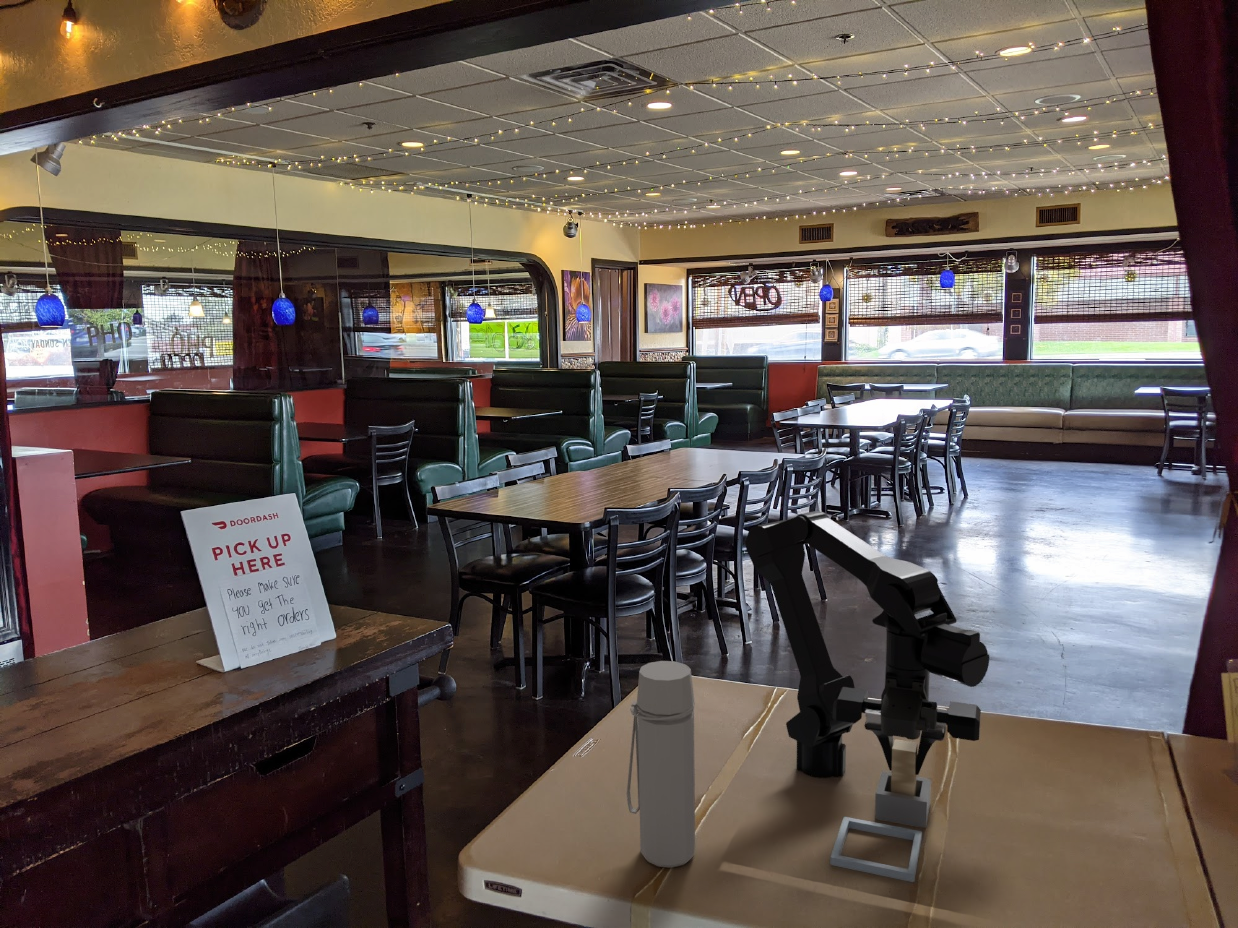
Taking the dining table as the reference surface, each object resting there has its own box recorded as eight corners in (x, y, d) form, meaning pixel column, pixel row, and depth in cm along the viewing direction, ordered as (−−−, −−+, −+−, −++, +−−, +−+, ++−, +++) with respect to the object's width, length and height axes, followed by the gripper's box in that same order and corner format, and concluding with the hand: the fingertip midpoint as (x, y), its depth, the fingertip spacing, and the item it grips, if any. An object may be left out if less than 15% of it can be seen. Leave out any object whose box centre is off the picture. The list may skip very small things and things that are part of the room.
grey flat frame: (830, 870, 115) (830, 856, 115) (843, 828, 124) (844, 816, 124) (913, 887, 111) (914, 874, 111) (921, 843, 120) (921, 831, 120)
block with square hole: (874, 823, 125) (875, 793, 124) (881, 800, 131) (881, 770, 130) (925, 833, 123) (926, 802, 122) (929, 808, 129) (930, 778, 128)
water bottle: (705, 844, 121) (703, 663, 117) (683, 877, 114) (681, 686, 110) (640, 829, 125) (637, 654, 121) (616, 860, 118) (611, 675, 114)
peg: (890, 813, 126) (892, 748, 124) (893, 802, 129) (894, 738, 127) (913, 817, 125) (915, 752, 123) (915, 806, 128) (917, 742, 126)
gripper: (825, 675, 120) (824, 787, 122) (980, 695, 112) (975, 814, 115) (840, 646, 130) (838, 750, 132) (983, 663, 123) (978, 772, 125)
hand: (904, 771), depth 126 cm, fingers closed on peg, 3 cm apart
